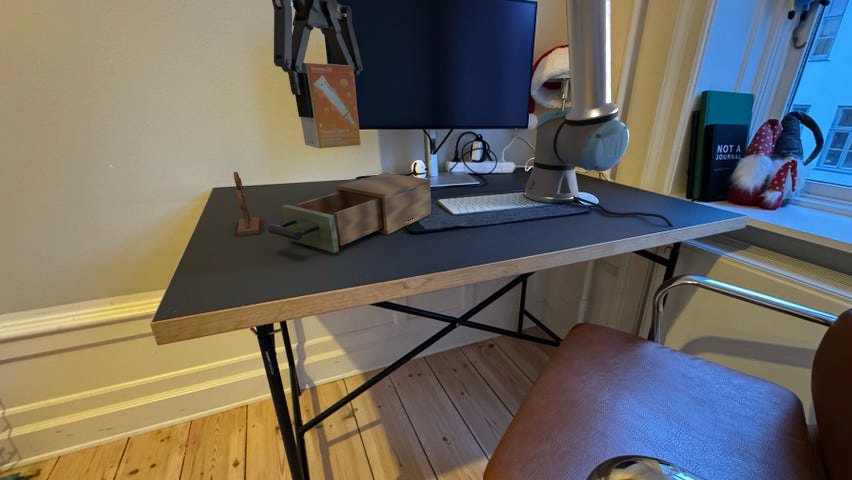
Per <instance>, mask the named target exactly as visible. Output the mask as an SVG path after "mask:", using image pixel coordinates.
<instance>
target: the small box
mask: <svg viewBox="0 0 852 480" xmlns="http://www.w3.org/2000/svg"><path fill="white" fill-rule="evenodd" d="M300 73H307V76H308V83H309V90H310V96H311V103H312V109H313V116H314V118H307V117H300V122H301V128H302V135H303V140H304V145H305V146H308V147H310V148H311V147H312V148H316V149H327V148H328V149H329V148H343V147H355V146H361V144H362V143H361V133H360V123H359V113H358V112H359V111H358V104H357V102H358V101H357V91H356V92H355V86H356V85H355V84H356V81H355V82H354V72H353V66H352V65H338V64H333V63H315V62H304V63H303V67H302V71H301V72H300Z"/></svg>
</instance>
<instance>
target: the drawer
mask: <svg viewBox="0 0 852 480" xmlns="http://www.w3.org/2000/svg"><path fill="white" fill-rule="evenodd" d="M281 209H282V214H283V219H284V220H283V221H284V222H283V223H281V224H280V223H279V224H274V223H270V224H268V226H267V232H268V233H269V234H274V235H276V236H280V237H284V238H287V239H288V240H290V241H292V242H296V243H299V244H302V245H307V246H310V247H313V248H317V249H320V250H323V251H326V252H330V253H333V254H334V253H336V252H339V250H340V249H339V246H340V247H342V246H345V245H347V244H349V243H351V242H354V241H357V240H359V239H361V238H363V237H365V236H367V235H370V234H372V233H374V232H375V231H377V230H379V229H381V228H384V218H383V206H382V198H380V197H375V196H370V195H364V194H359V193H354V192H349V191H341V192H337V191H336V192H334V193H331V194H327V195H323V196H320V197H317V198H313V199H309V200H306V201H302V202H299V203H296V204H295V205H291V204H283V205H281Z"/></svg>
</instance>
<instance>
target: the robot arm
mask: <svg viewBox="0 0 852 480" xmlns="http://www.w3.org/2000/svg"><path fill="white" fill-rule="evenodd" d="M271 3H272V6H273V64H274V65H275V66H276V67H277V68H281V70H282V71H283V72H284V73H287V75H288V81H289V86H290V92H291V94H292V96H294V97H295V101H296V108H297V115H298V117H299V118H301V117H307V118H314V116H313V109H312V103H311V96H310V90H309V83H308V76H307V73H300V72H301V71H302V67H303V63H305V58H306V53H307V50H308V45H309V40H310V36H311V32H312V31H313V30H314V28H316V29H320V32H321V34H322V35H324V36H325V38H326V40H327V43H328V45H329V47H330V50H331V52H332V54H333V56H334V58H335V61H336V63H337V65H352V66H353V72H354V82H355V92H356V93H357V86H356V76H359V75H360V72H363V70H364V67H363V62H362V59H361V54H360V50H359V46H358V41H357V38H356V33H355V29H354V24H353V15H352V14H353V13H352V7H351V6H350V5H347V4H346V5H342V4H340V3H338V1H337V0H271ZM611 3H612V1H611V0H565V13H566V33H567V48H568V49H567V51H568V69H569V85H570V86H569V88H570V103H571V105H570V109H569V110H552V111H545V112H542V113H541V114H540V115H539V116H538V121H537V125H536V136H535V137H536V138H535V147H534V156H533V157H534V158H533V167H532V171H531V173H530V175H529V178H528V180H527V182H526V185H525V188H524V197H525V198H527V199H529V200H532V201H535V202H540V203H546V204H547V203H548V204H567V203H573V202H576V201H580V202H583V203H586V204H588V205H592V206H593V207H597V208H599V209H601V210H602V211H603V212H605V213H606V214H609V215H612V216H642V217H652V218H658V219H661V220H663V221H665V223H666V224H667V225H668V226H669V227H674V225H673V223H672V222H671V221H670V219H668V217H666V216H664V215H662V214H659V213H650V212H649V213H648V212H640V211H628V212H627V211H626V212H619V211H618V212H616V211H611V210H608V209H607V208H606V207H605V206H603V205H601V204H599V203H596V202H593V201H590V200H587V199H584V198H582V197H579V196H578V195H579V188H578V181H577V175H576V167H577V168H580V169H583V170H585V171H588V172H596V173H597V172H598V173H601V172H606V171H609V170H610V169H612V168H613V167H615V166H616V165H617V164H618V163H619V162H620V160H621V158H622V157H624V155H625V153H626V151H627V149H628V145H629V142H630V132H629V128H628V126H626V125H625V123H624V122H623V121H621V120H619V106H618V105H617V104H616V103H615V102H613V101H612V71H611V70H612V38H611V37H612V35H611V34H612V33H611V30H612V29H611V28H612V25H611V24H612V23H611V21H612V19H611V17H612V16H611V15H612V13H611V11H612V10H611V9H612V8H611V7H612V6H611ZM293 9H294V16H293ZM525 193H526V194H525Z"/></svg>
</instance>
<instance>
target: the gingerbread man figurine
mask: <svg viewBox="0 0 852 480" xmlns="http://www.w3.org/2000/svg"><path fill="white" fill-rule="evenodd" d="M233 179H234V183H235V187H236V189H237V191H236V194H237V199H238V204H239V208H240V210H241V211H242V215H243V218H240V219H239V220H238V226H237V231H236V232H237V236H238V237H242V236H251V235H258V234H260V226H261V225H260V218H259V217H258V216H254V217H252V216H250V213H249V209H248V206H247V204H246V199H245V193H244V187H243V183H242V179H241V177H240V175H239V172H238V171H233Z"/></svg>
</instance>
